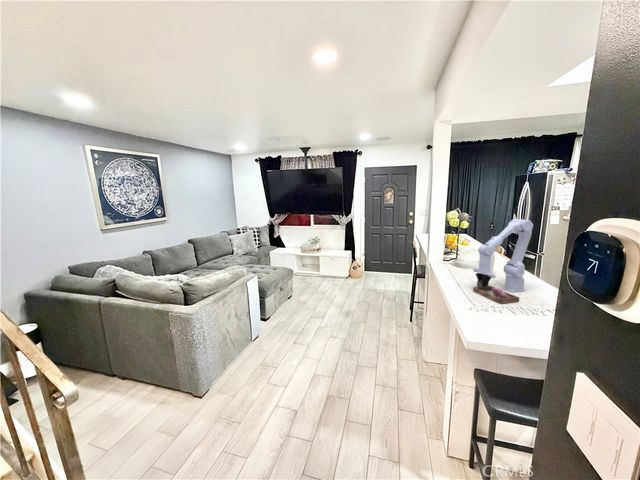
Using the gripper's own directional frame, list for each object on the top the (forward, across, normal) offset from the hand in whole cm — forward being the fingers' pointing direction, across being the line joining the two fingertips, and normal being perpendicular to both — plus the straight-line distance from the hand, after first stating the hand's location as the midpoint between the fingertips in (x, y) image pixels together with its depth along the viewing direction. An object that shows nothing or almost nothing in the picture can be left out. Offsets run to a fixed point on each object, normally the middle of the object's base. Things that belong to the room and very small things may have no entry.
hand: (482, 285), depth 159 cm
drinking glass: (+4, -27, +31) cm, 41 cm away
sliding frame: (+3, +8, 0) cm, 9 cm away
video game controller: (+4, +12, +1) cm, 12 cm away
